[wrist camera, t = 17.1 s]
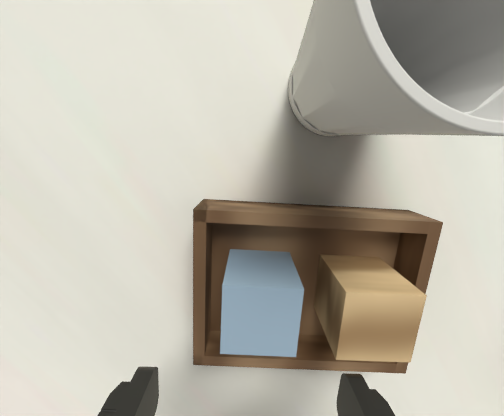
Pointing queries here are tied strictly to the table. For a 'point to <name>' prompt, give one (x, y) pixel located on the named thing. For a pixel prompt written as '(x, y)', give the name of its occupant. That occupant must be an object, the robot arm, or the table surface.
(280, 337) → the slate block
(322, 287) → the oak block
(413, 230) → the tray
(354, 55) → the cup
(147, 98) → the table surface
